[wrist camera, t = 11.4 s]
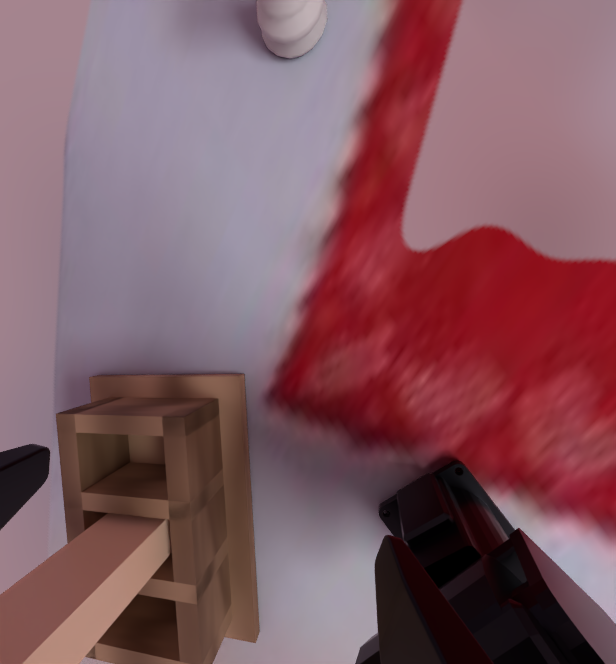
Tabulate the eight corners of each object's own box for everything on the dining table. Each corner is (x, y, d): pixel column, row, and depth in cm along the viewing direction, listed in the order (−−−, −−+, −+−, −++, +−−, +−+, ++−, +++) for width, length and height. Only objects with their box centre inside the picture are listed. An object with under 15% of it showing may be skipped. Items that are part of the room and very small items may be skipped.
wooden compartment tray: (244, 374, 21) (209, 390, 17) (259, 631, 22) (230, 715, 18) (98, 375, 24) (32, 389, 19) (117, 604, 25) (59, 671, 20)
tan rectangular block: (193, 491, 22) (-28, 713, 10) (195, 523, 22) (-20, 782, 10) (142, 487, 23) (-119, 684, 11) (144, 517, 23) (-111, 747, 11)
